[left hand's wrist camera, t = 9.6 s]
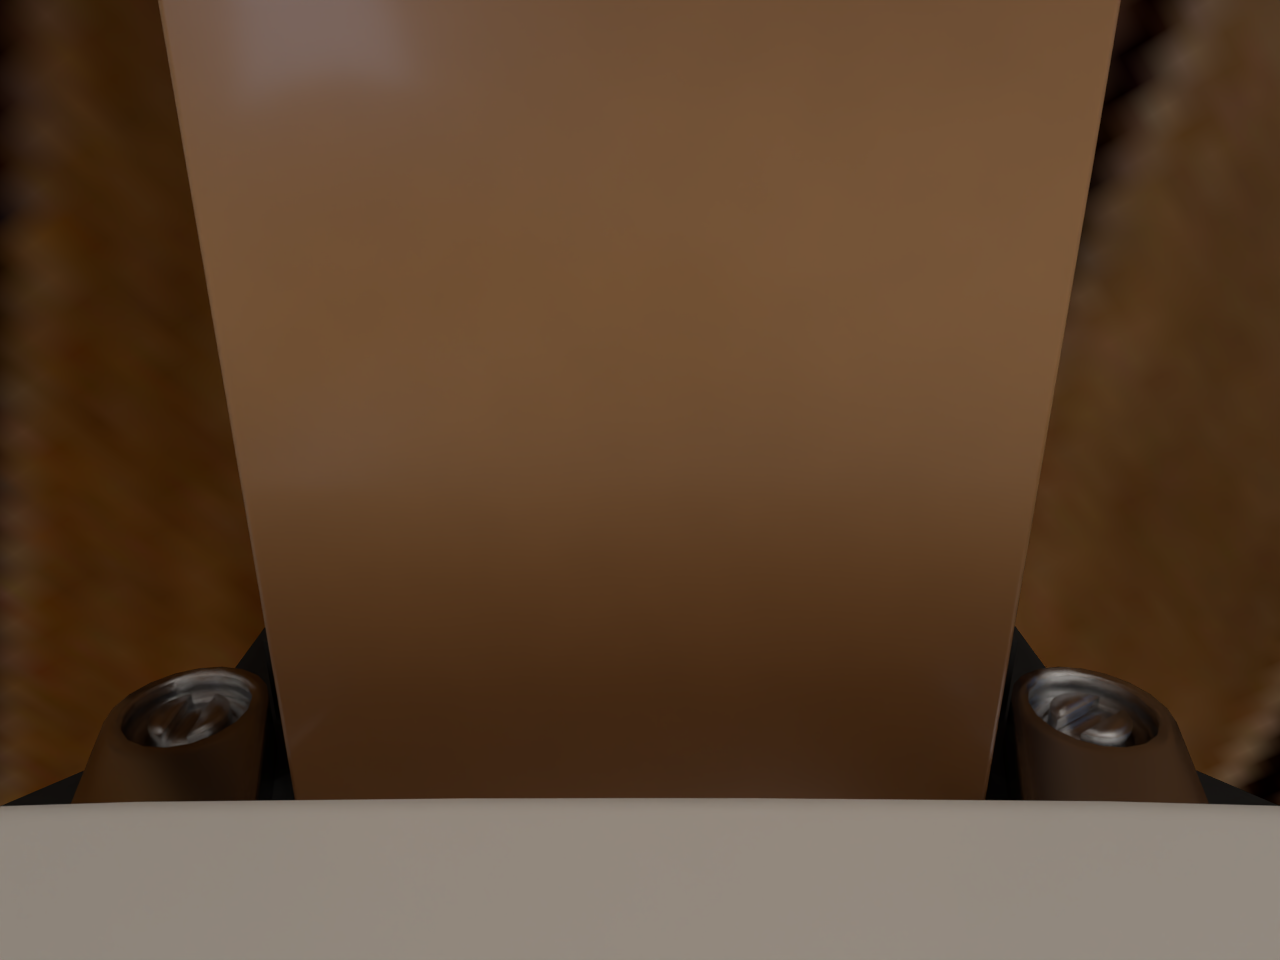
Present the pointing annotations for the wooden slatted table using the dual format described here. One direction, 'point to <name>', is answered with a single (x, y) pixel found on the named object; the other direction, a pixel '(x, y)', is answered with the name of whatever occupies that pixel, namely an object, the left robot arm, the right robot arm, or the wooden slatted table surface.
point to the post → (639, 377)
